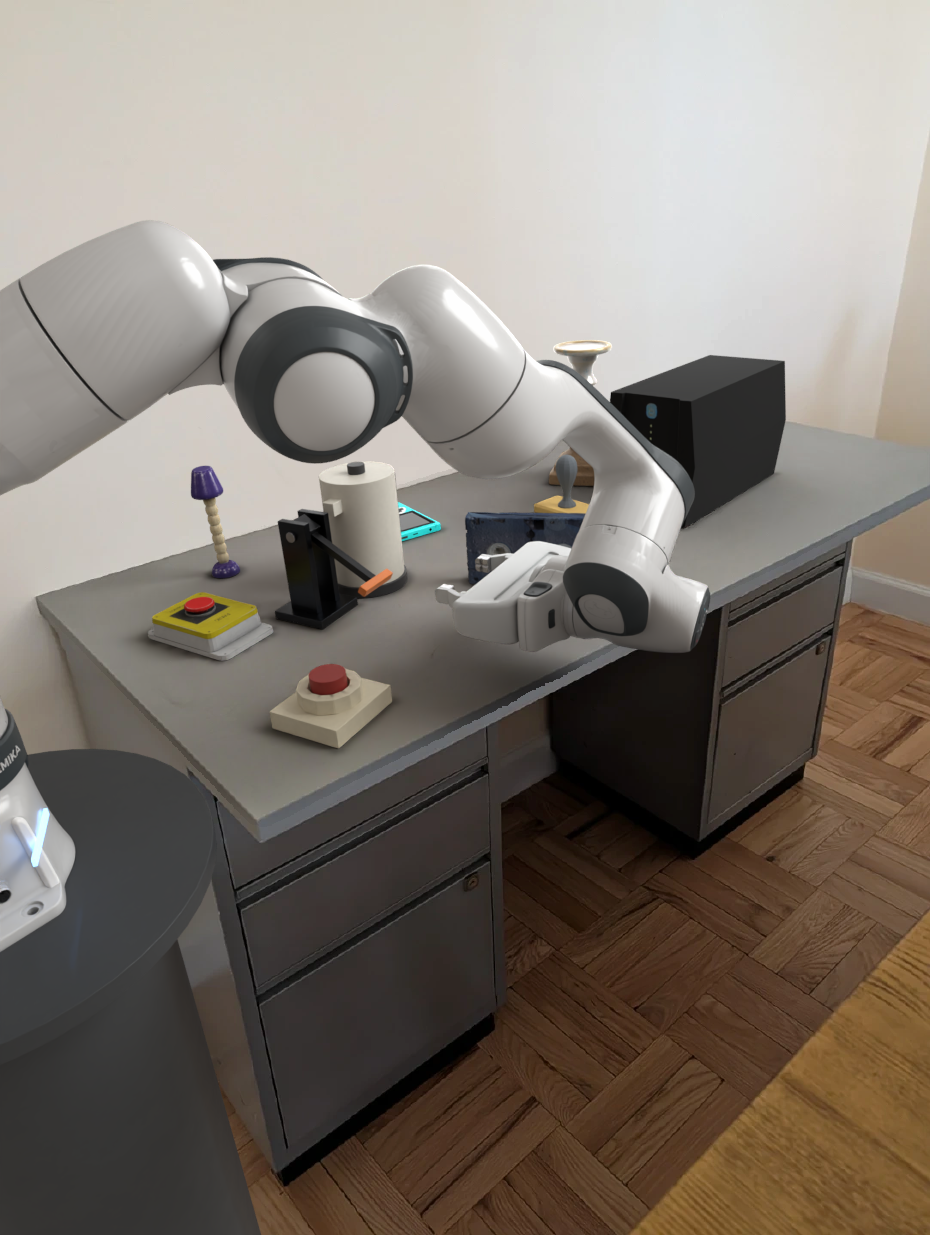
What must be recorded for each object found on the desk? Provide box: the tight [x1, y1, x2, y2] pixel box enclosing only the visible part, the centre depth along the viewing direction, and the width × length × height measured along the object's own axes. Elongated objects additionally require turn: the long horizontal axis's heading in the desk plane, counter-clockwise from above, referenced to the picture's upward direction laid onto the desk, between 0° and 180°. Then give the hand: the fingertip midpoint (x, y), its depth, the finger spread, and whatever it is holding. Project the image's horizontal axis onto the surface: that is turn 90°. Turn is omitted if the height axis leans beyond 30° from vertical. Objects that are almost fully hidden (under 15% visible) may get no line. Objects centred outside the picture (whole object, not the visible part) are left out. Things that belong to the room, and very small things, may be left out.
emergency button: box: [147, 591, 274, 662], centre depth 117 cm, size 9×4×15 cm
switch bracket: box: [274, 508, 359, 630], centre depth 119 cm, size 8×8×14 cm
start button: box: [308, 663, 348, 695], centre depth 97 cm, size 4×4×2 cm
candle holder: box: [548, 339, 613, 487], centre depth 162 cm, size 11×11×24 cm
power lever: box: [293, 514, 393, 597], centre depth 116 cm, size 14×6×2 cm, turn 60°
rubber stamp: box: [533, 455, 590, 513], centre depth 142 cm, size 10×6×12 cm, turn 41°
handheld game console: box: [398, 501, 442, 542], centre depth 150 cm, size 10×16×1 cm, turn 33°
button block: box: [269, 668, 393, 749], centre depth 98 cm, size 10×9×4 cm
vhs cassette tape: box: [464, 511, 586, 585], centre depth 124 cm, size 18×3×10 cm, turn 78°
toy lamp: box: [190, 465, 241, 579], centre depth 133 cm, size 5×5×17 cm
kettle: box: [318, 460, 408, 599], centre depth 126 cm, size 14×11×18 cm
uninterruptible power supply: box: [609, 354, 787, 529], centre depth 152 cm, size 16×34×20 cm, turn 138°
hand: (458, 576), depth 107 cm, fingers open, 8 cm apart
